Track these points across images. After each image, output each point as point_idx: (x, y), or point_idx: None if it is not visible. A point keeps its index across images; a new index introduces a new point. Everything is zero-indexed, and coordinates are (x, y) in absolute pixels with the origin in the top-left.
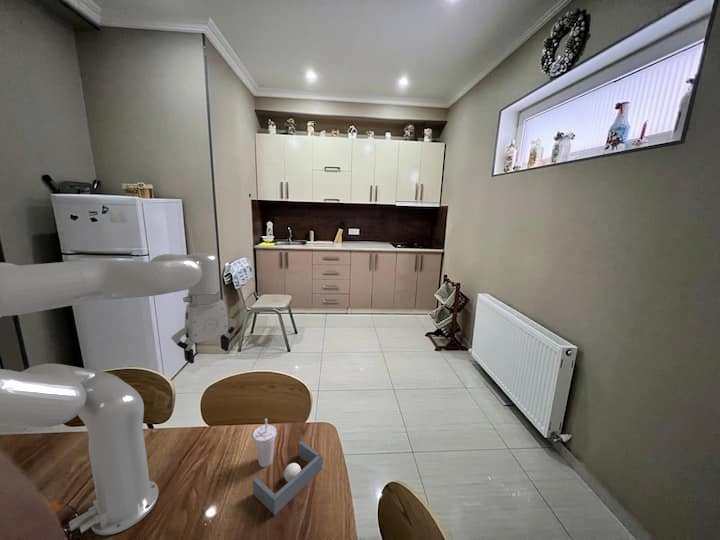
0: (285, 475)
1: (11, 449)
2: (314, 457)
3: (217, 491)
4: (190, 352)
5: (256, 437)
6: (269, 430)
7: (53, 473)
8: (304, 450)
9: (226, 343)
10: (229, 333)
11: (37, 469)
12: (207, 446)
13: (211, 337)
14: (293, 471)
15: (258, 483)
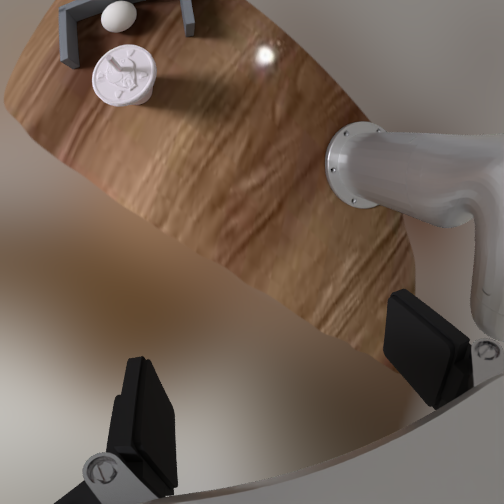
0: (134, 12)
1: None
2: (69, 18)
3: (243, 84)
4: (456, 333)
5: (148, 68)
6: (109, 71)
7: None
8: (70, 44)
9: (135, 407)
10: (93, 492)
11: None
12: (224, 216)
13: (372, 457)
14: (121, 2)
15: (190, 10)
